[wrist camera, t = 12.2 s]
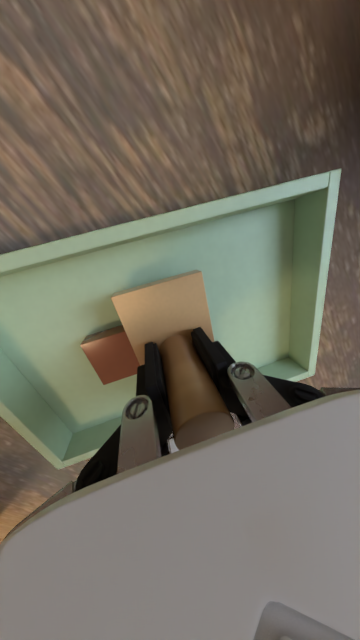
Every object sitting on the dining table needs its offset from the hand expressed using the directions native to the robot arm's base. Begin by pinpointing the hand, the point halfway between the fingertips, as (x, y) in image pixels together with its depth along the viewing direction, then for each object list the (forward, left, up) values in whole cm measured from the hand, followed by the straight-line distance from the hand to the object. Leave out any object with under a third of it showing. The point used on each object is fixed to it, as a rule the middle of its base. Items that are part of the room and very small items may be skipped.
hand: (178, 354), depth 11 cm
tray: (0, 0, -4) cm, 4 cm away
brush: (0, 0, -3) cm, 3 cm away
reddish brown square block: (+5, 0, -3) cm, 6 cm away
